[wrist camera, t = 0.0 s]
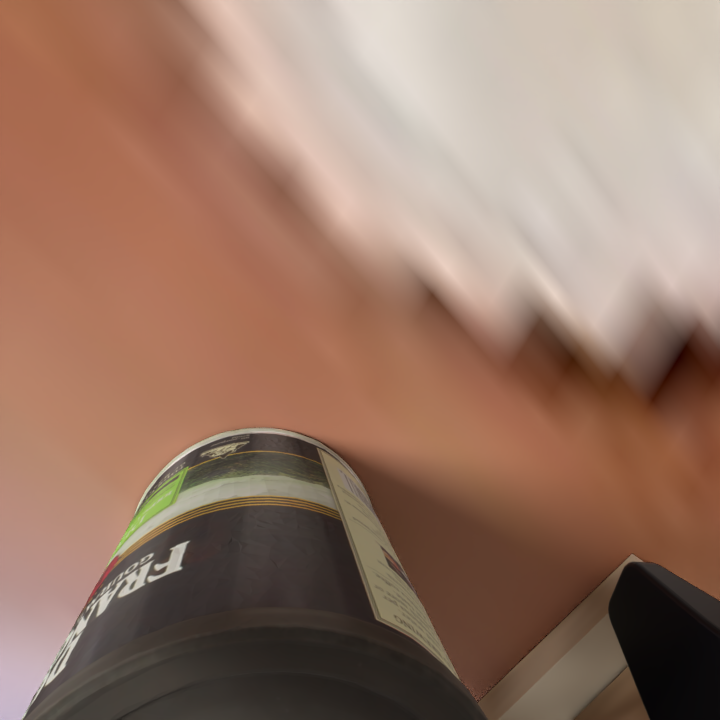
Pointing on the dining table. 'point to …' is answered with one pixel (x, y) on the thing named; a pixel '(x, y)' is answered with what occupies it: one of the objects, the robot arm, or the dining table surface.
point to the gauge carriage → (617, 702)
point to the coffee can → (254, 601)
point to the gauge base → (564, 665)
